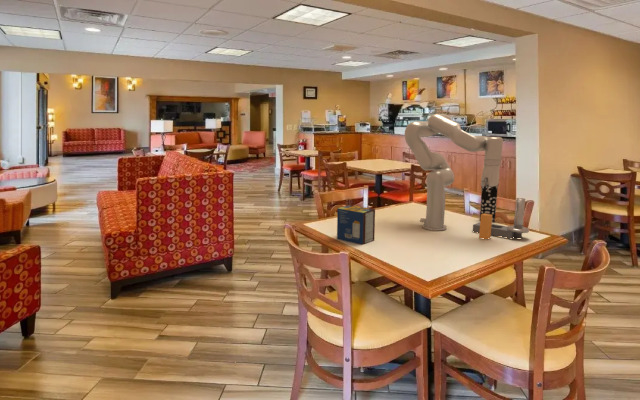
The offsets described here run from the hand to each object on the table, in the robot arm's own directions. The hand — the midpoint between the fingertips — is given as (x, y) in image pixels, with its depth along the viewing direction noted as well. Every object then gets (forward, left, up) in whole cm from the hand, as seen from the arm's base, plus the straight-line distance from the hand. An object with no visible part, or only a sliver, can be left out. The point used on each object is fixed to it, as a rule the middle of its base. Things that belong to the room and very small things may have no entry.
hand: (489, 198), depth 205 cm
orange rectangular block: (0, 0, -20) cm, 20 cm away
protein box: (-42, -49, -21) cm, 68 cm away
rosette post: (+11, +12, -20) cm, 26 cm away
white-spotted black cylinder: (-16, +38, -21) cm, 46 cm away
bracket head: (0, +12, -20) cm, 24 cm away
